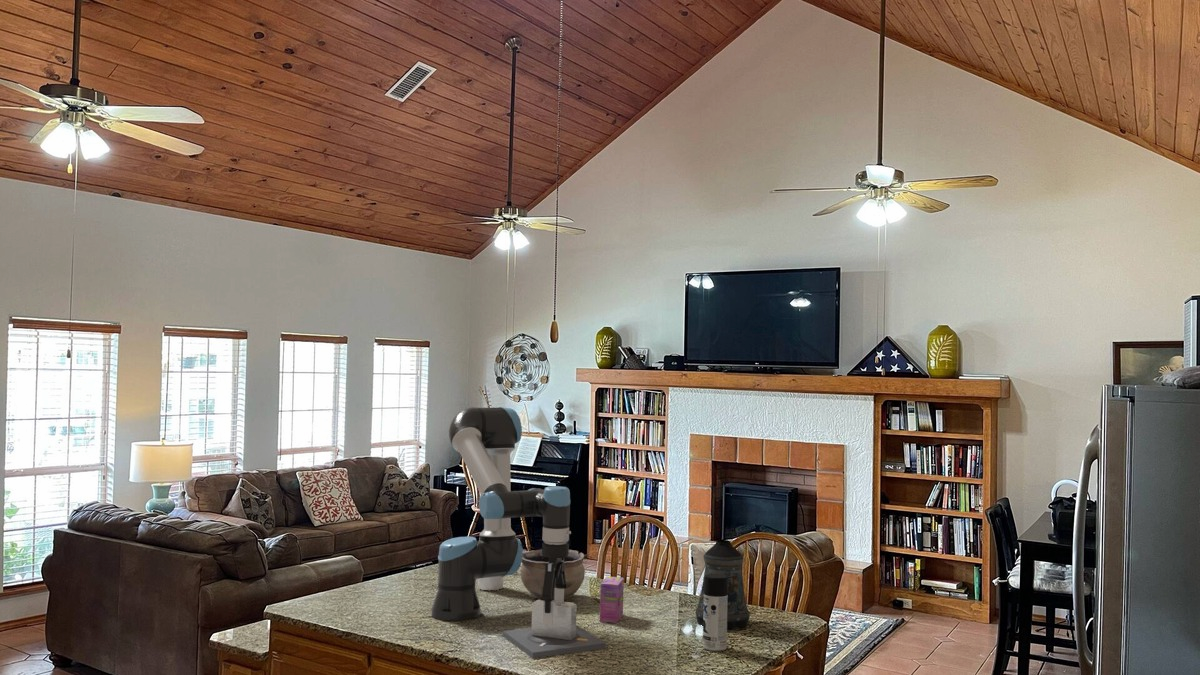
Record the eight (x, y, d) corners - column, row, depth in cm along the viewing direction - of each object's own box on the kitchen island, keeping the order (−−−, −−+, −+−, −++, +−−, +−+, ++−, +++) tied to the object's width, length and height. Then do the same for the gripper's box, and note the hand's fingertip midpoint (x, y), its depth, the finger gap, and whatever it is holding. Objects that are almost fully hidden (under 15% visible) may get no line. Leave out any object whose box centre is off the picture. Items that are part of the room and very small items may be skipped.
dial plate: (502, 636, 254) (503, 630, 255) (572, 628, 264) (572, 622, 264) (532, 658, 235) (532, 651, 235) (606, 648, 245) (606, 642, 245)
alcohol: (478, 585, 317) (480, 501, 318) (502, 585, 318) (505, 501, 319) (477, 591, 308) (479, 504, 310) (503, 591, 309) (505, 504, 310)
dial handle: (531, 635, 250) (532, 601, 250) (537, 631, 254) (538, 597, 254) (570, 640, 246) (571, 605, 246) (576, 636, 249) (576, 602, 250)
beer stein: (713, 633, 262) (714, 547, 263) (681, 616, 280) (682, 536, 281) (760, 627, 269) (760, 544, 270) (726, 612, 286) (727, 534, 288)
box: (617, 623, 270) (618, 584, 271) (599, 622, 272) (600, 583, 272) (623, 615, 281) (624, 577, 281) (605, 613, 282) (606, 576, 282)
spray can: (700, 644, 250) (701, 573, 251) (724, 644, 250) (725, 573, 252) (705, 652, 243) (706, 578, 244) (729, 651, 244) (730, 578, 245)
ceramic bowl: (596, 597, 303) (597, 553, 304) (560, 610, 285) (561, 563, 285) (544, 588, 315) (545, 545, 316) (506, 600, 296) (507, 555, 297)
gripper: (559, 551, 238) (556, 631, 237) (577, 535, 263) (575, 607, 262) (531, 549, 239) (529, 629, 239) (552, 533, 264) (550, 605, 263)
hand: (553, 617), depth 250 cm, fingers open, 13 cm apart
